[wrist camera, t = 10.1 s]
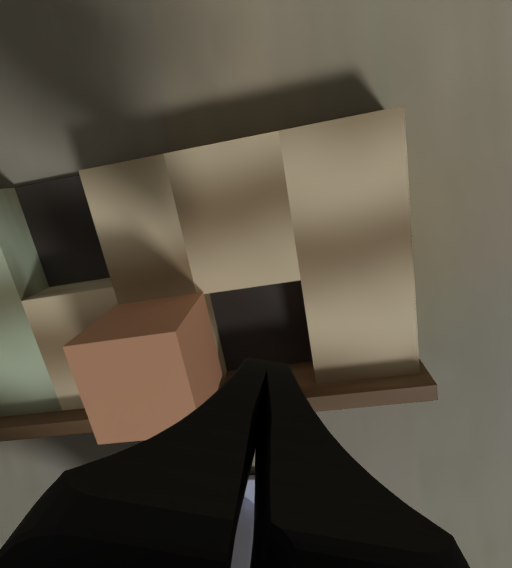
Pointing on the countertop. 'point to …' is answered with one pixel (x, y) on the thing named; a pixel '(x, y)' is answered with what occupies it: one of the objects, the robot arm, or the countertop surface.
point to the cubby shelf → (222, 264)
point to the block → (145, 366)
